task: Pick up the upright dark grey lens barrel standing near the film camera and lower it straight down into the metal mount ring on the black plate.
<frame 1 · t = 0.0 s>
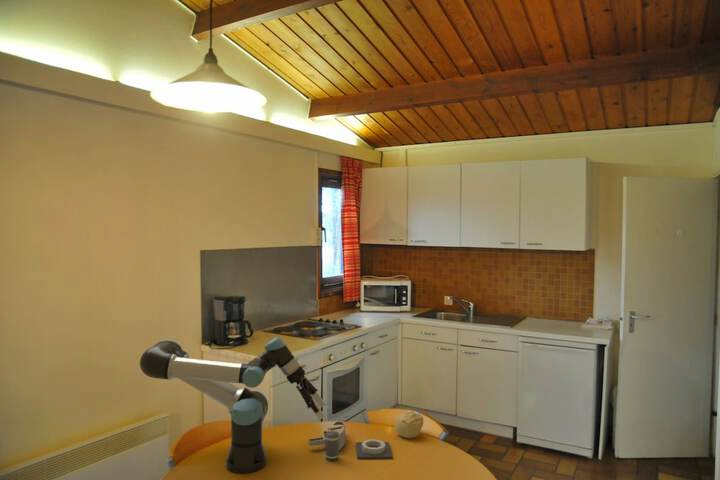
hand: (322, 411, 206), 15 cm above the table, tool tilted 35°, fingers open, 13 cm apart
film camera: (327, 443, 212), on the table
mount: (373, 451, 204), on the table
cream crumpled ball: (408, 436, 221), on the table
lens: (332, 458, 197), on the table
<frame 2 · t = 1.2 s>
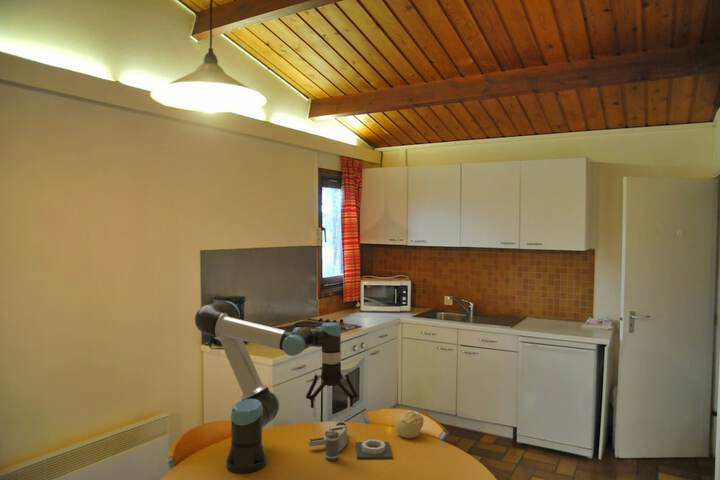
hand: (331, 415, 198), 17 cm above the table, tool pointing down, fingers open, 13 cm apart
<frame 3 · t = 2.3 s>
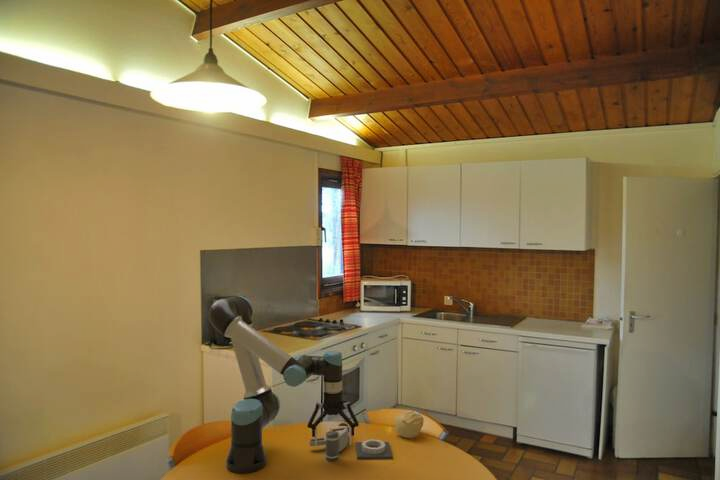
hand: (333, 444, 197), 6 cm above the table, tool pointing down, fingers open, 13 cm apart
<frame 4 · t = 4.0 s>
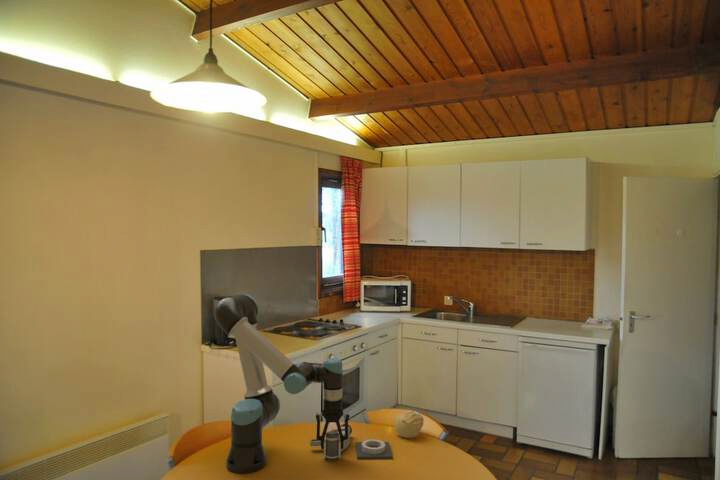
hand: (332, 456, 197), 1 cm above the table, tool pointing down, fingers closed on lens, 5 cm apart
lens: (332, 458, 197), on the table, touching gripper
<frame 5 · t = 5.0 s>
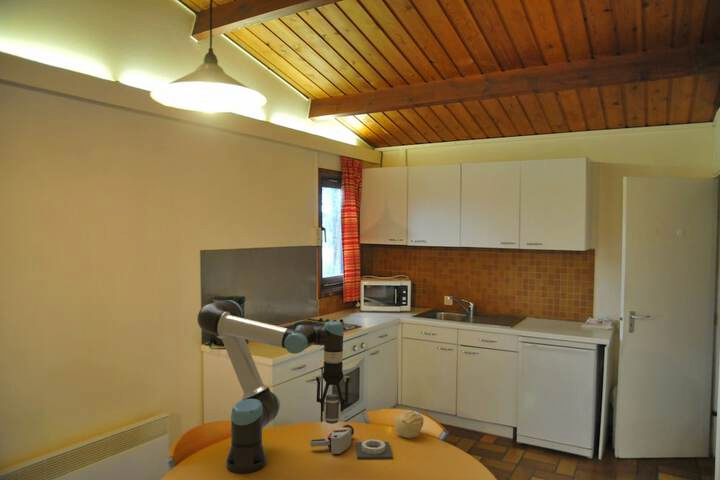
hand: (331, 419, 197), 16 cm above the table, tool pointing down, fingers closed on lens, 5 cm apart
lens: (331, 421, 197), point 15 cm above the table, touching gripper
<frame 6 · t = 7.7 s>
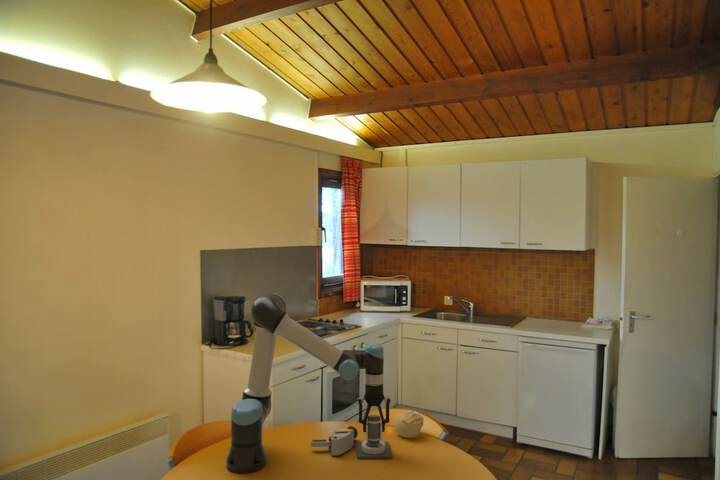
hand: (373, 439, 204), 5 cm above the table, tool pointing down, fingers closed on lens, 5 cm apart
film camera: (334, 446, 209), on the table
lens: (373, 441, 204), point 4 cm above the table, touching gripper
everything else where it was.
when the fingers open (4 cm above the table, at t = 8.8 s): lens drops 2 cm, resting on mount.
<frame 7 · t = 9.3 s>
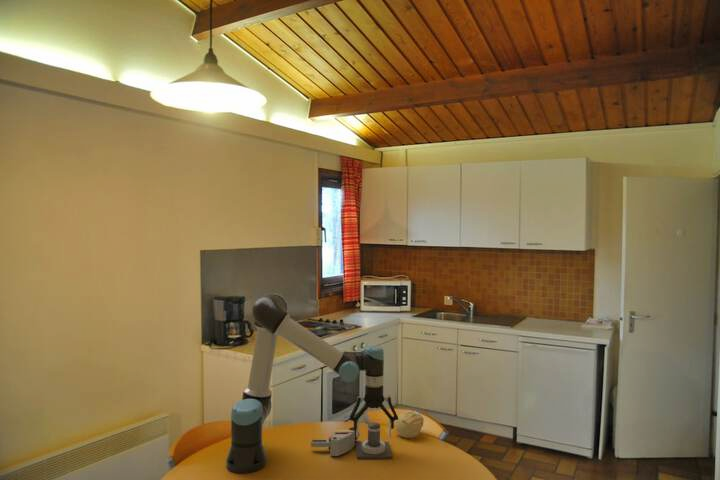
hand: (373, 436, 204), 6 cm above the table, tool pointing down, fingers open, 13 cm apart
lens: (373, 449, 204), point 1 cm above the table, touching mount
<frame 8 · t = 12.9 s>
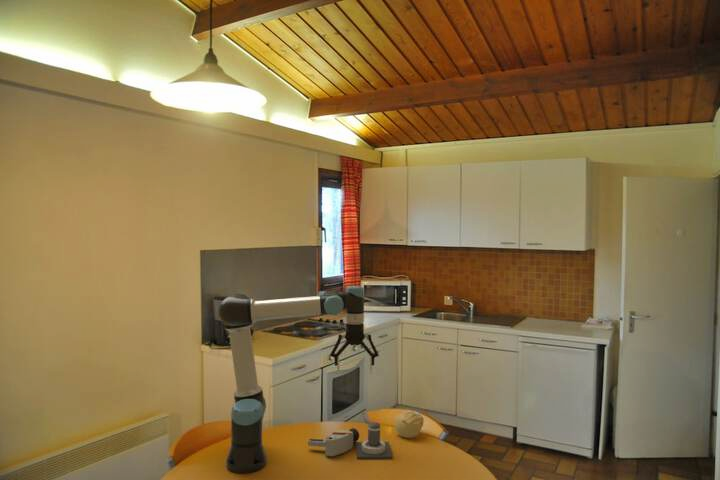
hand: (354, 373, 210), 31 cm above the table, tool pointing down, fingers open, 13 cm apart
at the end: lens 0.2 cm off-centre on the mount, point 1.1 cm above the mount's base; lens tilted 2°; the gripper is holding nothing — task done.
